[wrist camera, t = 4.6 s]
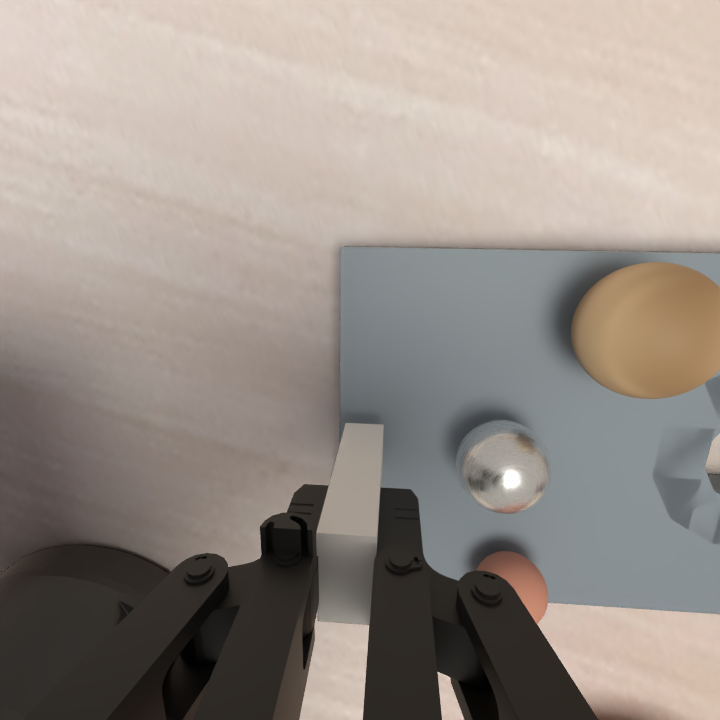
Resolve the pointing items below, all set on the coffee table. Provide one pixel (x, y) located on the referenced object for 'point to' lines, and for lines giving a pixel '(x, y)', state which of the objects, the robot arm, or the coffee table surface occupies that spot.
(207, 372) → the coffee table surface
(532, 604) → the rubber ball
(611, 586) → the plate
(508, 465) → the steel ball
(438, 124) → the coffee table surface
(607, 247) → the coffee table surface
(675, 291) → the wooden ball
